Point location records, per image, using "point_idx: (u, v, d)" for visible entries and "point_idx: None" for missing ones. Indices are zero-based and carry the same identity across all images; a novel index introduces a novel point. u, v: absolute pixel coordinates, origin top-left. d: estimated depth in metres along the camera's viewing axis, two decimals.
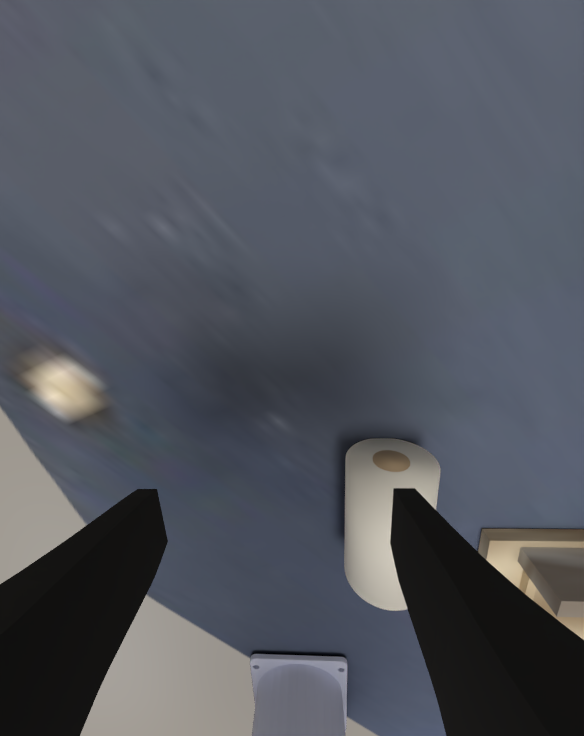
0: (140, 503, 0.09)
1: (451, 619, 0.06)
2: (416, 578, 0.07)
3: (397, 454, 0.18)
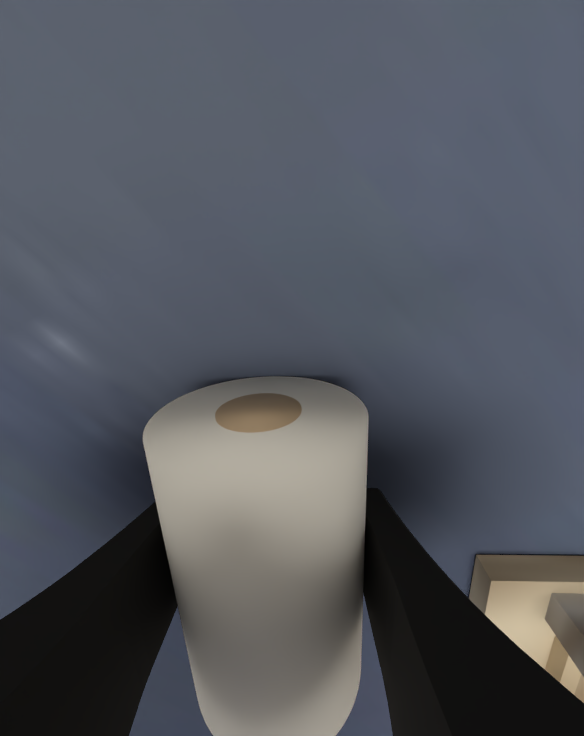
0: None
1: (394, 618, 0.06)
2: (372, 578, 0.08)
3: (282, 399, 0.08)
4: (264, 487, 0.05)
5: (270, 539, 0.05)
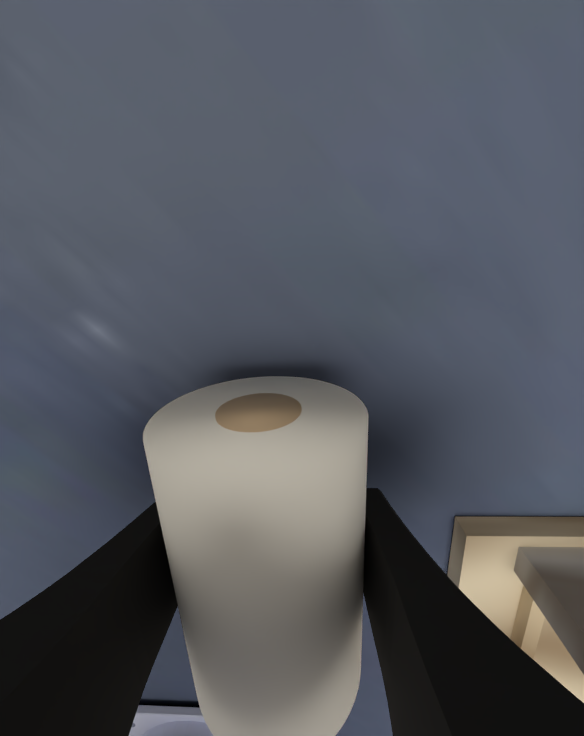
0: None
1: (393, 618, 0.06)
2: (371, 578, 0.08)
3: (282, 399, 0.08)
4: (264, 486, 0.05)
5: (270, 538, 0.05)
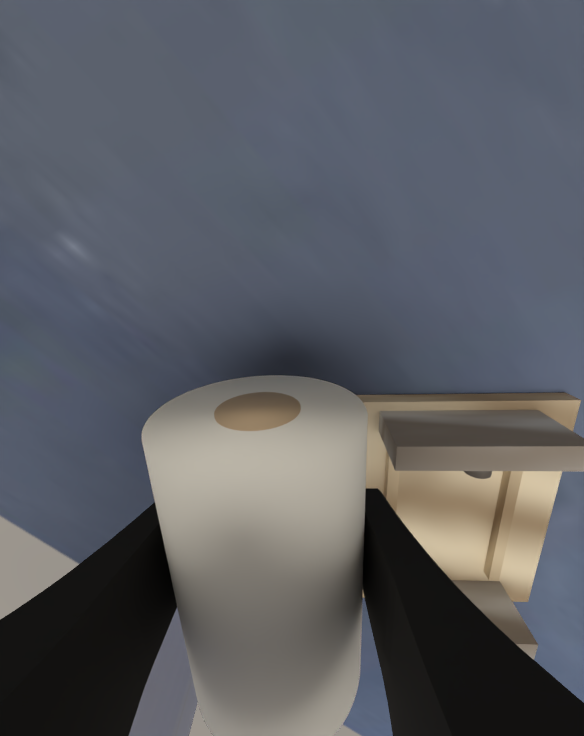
0: None
1: (393, 618, 0.06)
2: (371, 578, 0.08)
3: (281, 398, 0.08)
4: (263, 485, 0.05)
5: (268, 537, 0.05)
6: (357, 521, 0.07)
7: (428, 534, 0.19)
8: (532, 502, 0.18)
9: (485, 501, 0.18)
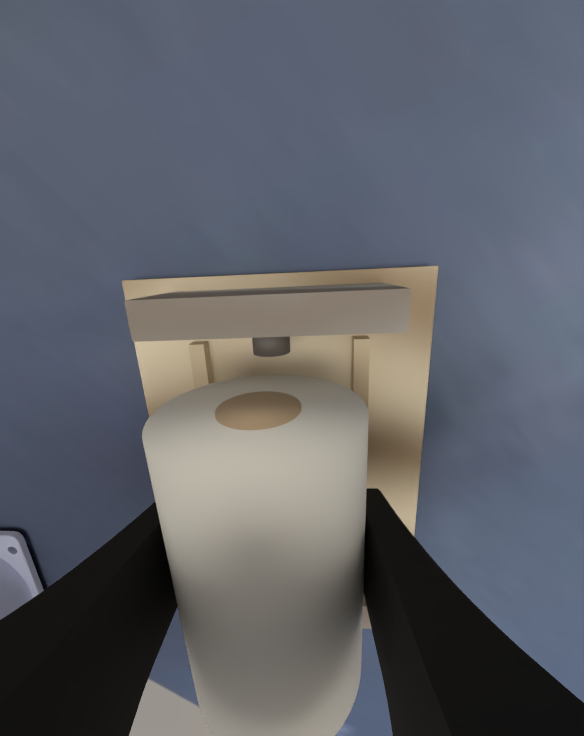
0: None
1: (393, 618, 0.06)
2: (371, 578, 0.08)
3: (282, 397, 0.08)
4: (263, 484, 0.05)
5: (269, 537, 0.05)
6: (358, 521, 0.07)
7: None
8: (396, 421, 0.14)
9: None
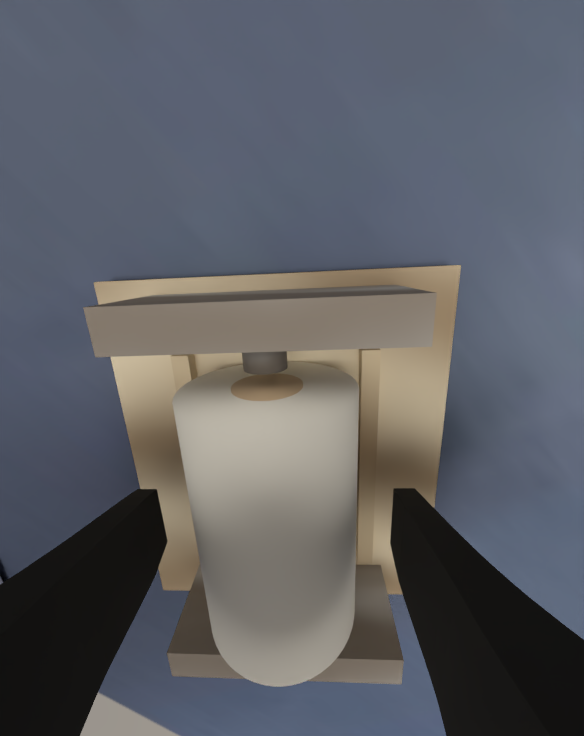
0: (140, 503, 0.09)
1: (451, 619, 0.06)
2: (416, 578, 0.07)
3: (286, 377, 0.09)
4: (275, 437, 0.06)
5: (279, 480, 0.07)
6: (350, 476, 0.08)
7: None
8: (409, 442, 0.12)
9: None
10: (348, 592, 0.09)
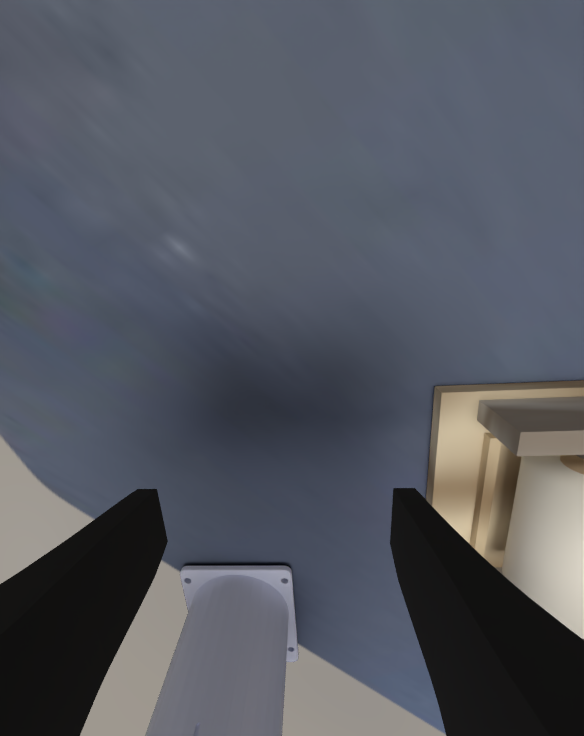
0: (140, 503, 0.09)
1: (451, 619, 0.06)
2: (416, 578, 0.07)
3: None
4: None
5: None
6: None
7: None
8: None
9: None
10: None
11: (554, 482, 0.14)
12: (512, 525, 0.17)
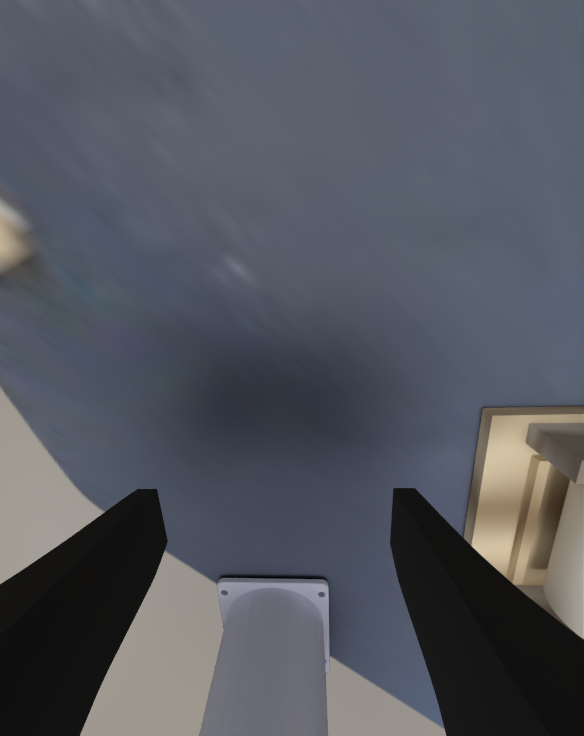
0: (140, 503, 0.09)
1: (451, 619, 0.06)
2: (416, 578, 0.07)
3: None
4: None
5: None
6: None
7: None
8: None
9: None
10: None
11: None
12: (558, 547, 0.17)
